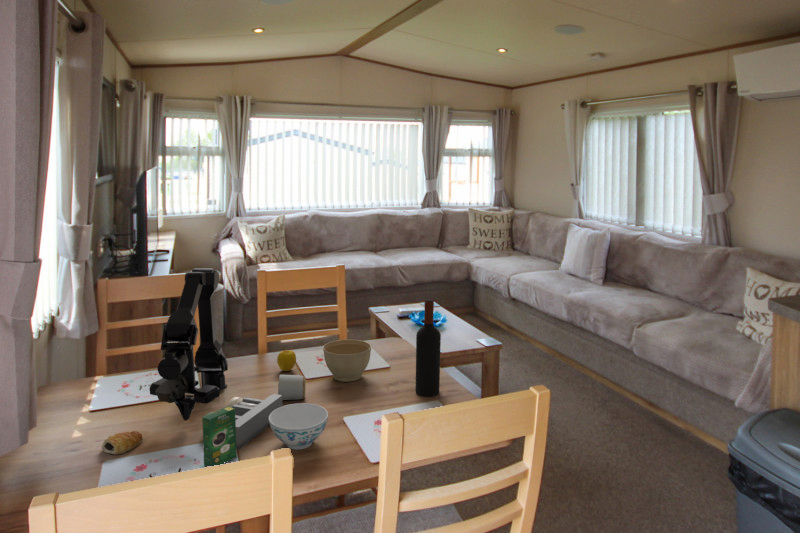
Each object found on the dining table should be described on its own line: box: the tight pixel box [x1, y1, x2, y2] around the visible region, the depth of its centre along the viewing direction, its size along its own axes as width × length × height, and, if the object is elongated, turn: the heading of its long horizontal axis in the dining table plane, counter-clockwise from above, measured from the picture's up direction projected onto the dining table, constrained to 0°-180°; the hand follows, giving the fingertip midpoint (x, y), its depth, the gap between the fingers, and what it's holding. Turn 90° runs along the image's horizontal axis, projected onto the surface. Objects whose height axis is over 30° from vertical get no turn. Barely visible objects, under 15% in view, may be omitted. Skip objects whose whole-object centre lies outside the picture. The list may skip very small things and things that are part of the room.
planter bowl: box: [322, 339, 372, 383], centre depth 191 cm, size 16×16×11 cm
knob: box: [227, 396, 257, 407], centre depth 161 cm, size 9×5×5 cm, turn 71°
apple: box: [276, 349, 297, 372], centre depth 197 cm, size 6×6×8 cm
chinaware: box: [269, 402, 329, 450], centre depth 146 cm, size 15×15×8 cm
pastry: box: [101, 430, 144, 456], centre depth 145 cm, size 9×7×4 cm
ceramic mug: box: [277, 374, 307, 401], centre depth 175 cm, size 11×8×8 cm
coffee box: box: [201, 405, 238, 468], centre depth 136 cm, size 8×3×13 cm, turn 147°
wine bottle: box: [414, 298, 442, 398], centre depth 177 cm, size 8×8×30 cm
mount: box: [232, 393, 283, 450], centre depth 155 cm, size 11×21×6 cm, turn 161°
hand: (186, 419), depth 154 cm, fingers closed
